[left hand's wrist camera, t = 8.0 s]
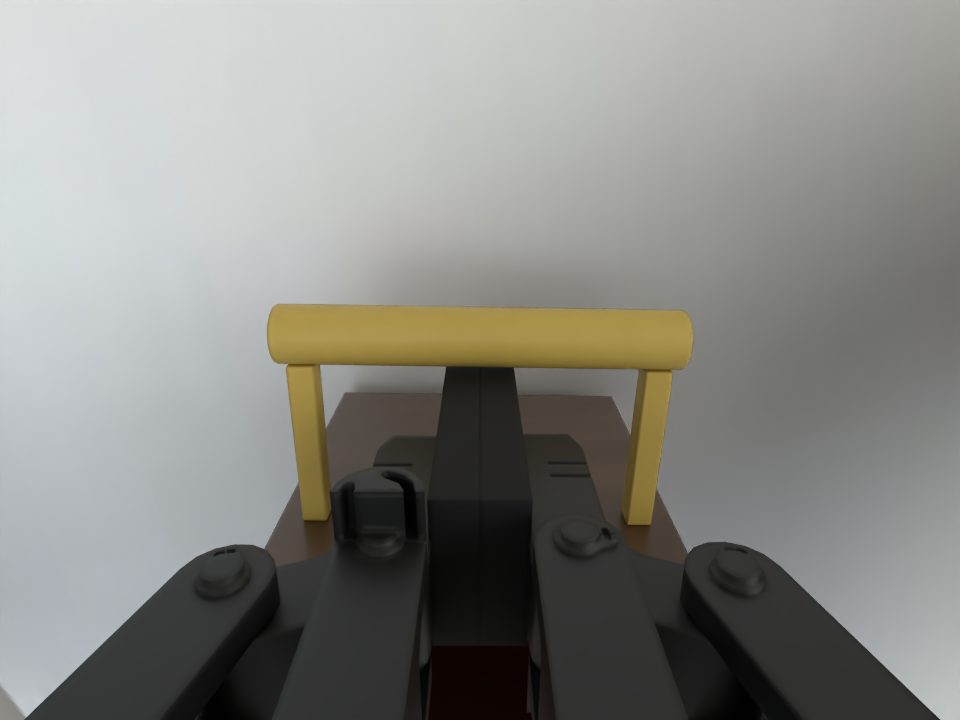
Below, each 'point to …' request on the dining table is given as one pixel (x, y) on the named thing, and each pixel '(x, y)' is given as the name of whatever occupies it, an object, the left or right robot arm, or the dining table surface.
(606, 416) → the drawer
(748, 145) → the dining table surface
